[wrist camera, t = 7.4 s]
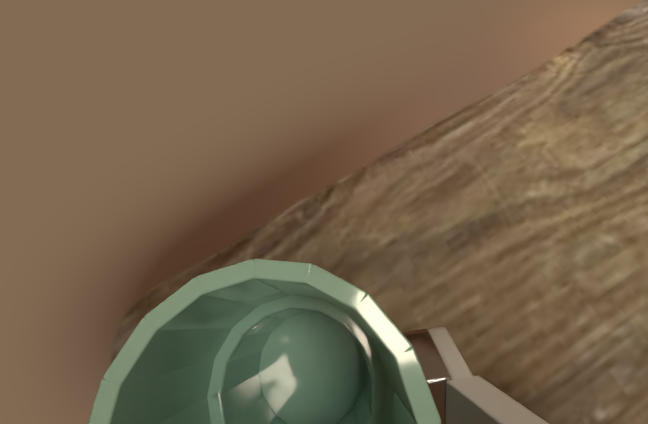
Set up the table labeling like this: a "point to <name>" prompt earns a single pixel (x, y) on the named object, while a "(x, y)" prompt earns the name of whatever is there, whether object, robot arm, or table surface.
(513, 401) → the robot arm
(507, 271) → the table surface
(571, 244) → the table surface
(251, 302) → the sage green tumbler
